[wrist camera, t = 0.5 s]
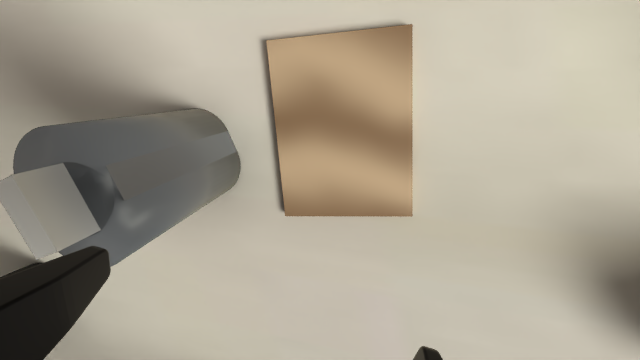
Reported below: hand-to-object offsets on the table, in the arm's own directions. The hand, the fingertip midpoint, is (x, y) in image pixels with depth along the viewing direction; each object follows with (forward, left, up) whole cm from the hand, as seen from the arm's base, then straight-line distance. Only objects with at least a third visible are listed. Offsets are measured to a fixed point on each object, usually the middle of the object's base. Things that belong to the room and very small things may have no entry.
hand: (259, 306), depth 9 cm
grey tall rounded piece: (-5, +9, -15) cm, 18 cm away
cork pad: (+3, +2, -15) cm, 15 cm away
